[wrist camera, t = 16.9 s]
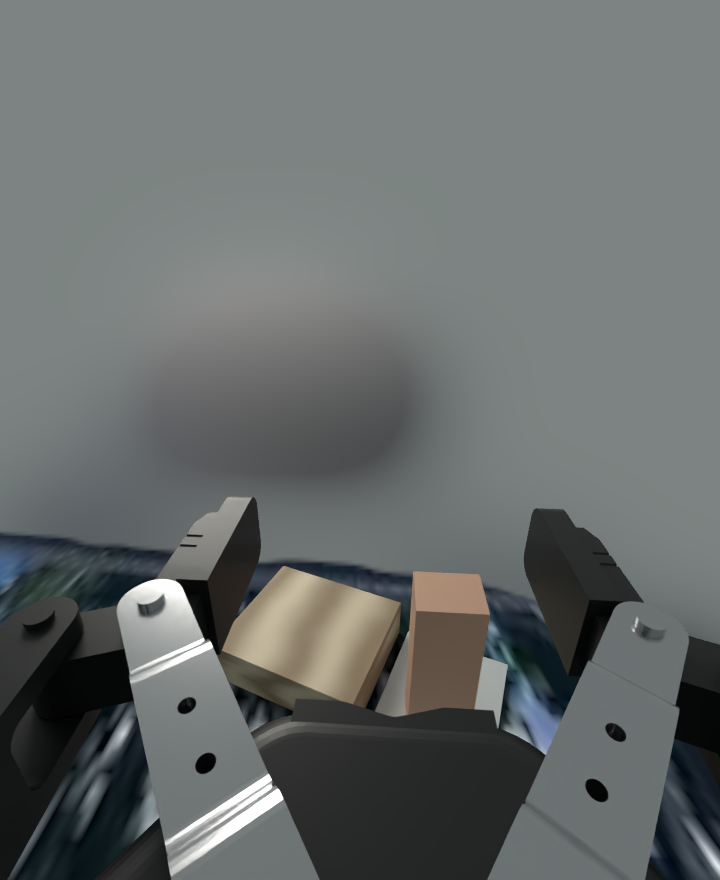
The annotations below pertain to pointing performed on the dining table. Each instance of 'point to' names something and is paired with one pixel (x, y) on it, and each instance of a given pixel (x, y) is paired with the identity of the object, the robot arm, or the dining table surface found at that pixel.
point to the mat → (486, 694)
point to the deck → (310, 641)
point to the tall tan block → (445, 641)
